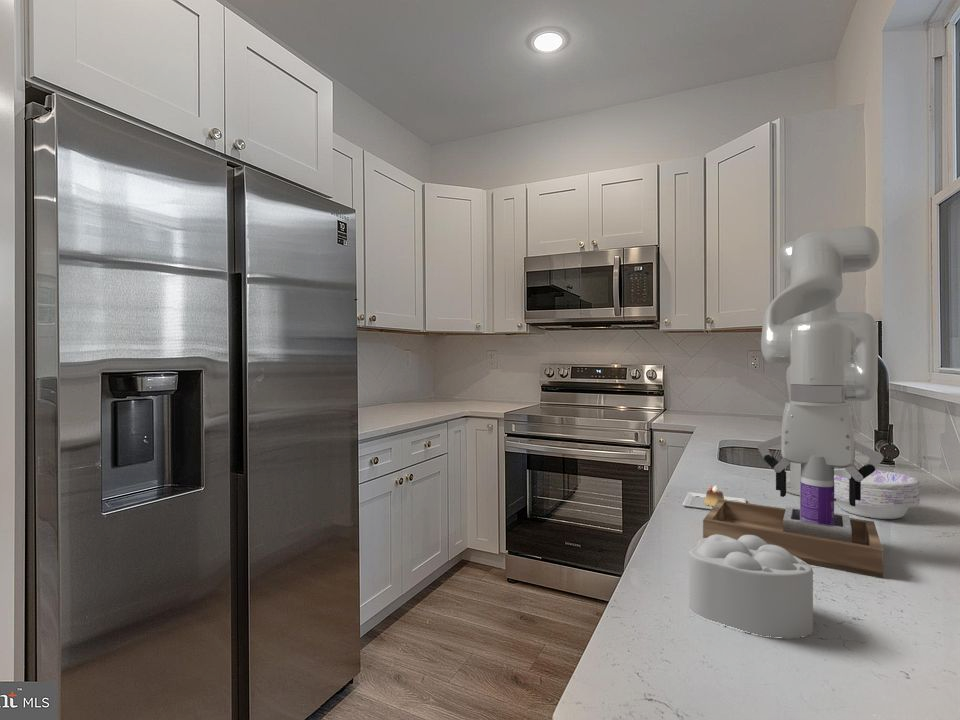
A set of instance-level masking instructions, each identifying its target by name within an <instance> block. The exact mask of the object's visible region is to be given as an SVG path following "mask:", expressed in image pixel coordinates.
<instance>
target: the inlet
mask: <svg viewBox="0 0 960 720" xmlns="http://www.w3.org/2000/svg"><path fill="white" fill-rule="evenodd" d="M785 509H786V510H785V514H784V518H783V531H784V532H790V533H796V534H802V535H808V536H814V537H820V538H826V539H832V540H838V541H844V542H850V543H852V529H851V523H850V518H851V517H850V515H848V514H842V513H835V512H834V526H833V525H827V524H820V523H814V522H807V521H801V520H800V507H793V506H785Z"/></svg>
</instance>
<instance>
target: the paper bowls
mask: <svg viewBox="0 0 960 720" xmlns="http://www.w3.org/2000/svg"><path fill="white" fill-rule="evenodd" d="M857 469H858V470H859V469H860V468H857ZM849 478H850V479H851V475H850V474H849V473H848V472H847V471H846V470H845V468H844V467H840V468H838V469H834V498H836V499H835V500H836V502H837V503H838V505H839V507H840V508H841V509H842V510H843V511H845V512H846V513H849V514H852V515H855V516H859V517H864V518H865V517H866V518H869V517H870V518H871V519H879V520H897V519H900V518H902V517H904V516H905V514H906V513H907V512H908V510H909V509H910V508H916V507H919V506H920V501H921V500H920V498H921V496H920V495H921V493H920V481H919V480H918V479H917V478H916V477H913V476H911V475H907V474H904V473H903V474H902V473H898V472H892V471H887V470H879V469H875V471H874V472H873V473H871V474H870V475H869V476H867V477H866V478H864V479H863V480H862V481H861V501H859V500H855V506H851V505H850V503H849Z"/></svg>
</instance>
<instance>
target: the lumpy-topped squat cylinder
mask: <svg viewBox="0 0 960 720" xmlns="http://www.w3.org/2000/svg"><path fill="white" fill-rule="evenodd" d="M813 580H814V570H813V568H812V566H811V565H810V564H807V563H806V562H804V561H802V560H801V559H799V558H797V557H795V556H793V555H791V554H790V553H789V552H788V551H787V550H785V549H784V548H782V547H780V546H777V545H768V544H767V543H766V542H765V541H764V540H763V539H761V538H759V537H757V536H755V535H743V536H741V537H740V538H739V539H738V540H736V539H733V538H730V537H728V536H724V535H718V534H716V535H711V536H709V537H708V538H703V537H702V538H700V539H699V540H698V541H697V545H696V546H694V547H692V548H690V550H689V552H688V609H689V608H690V609H691V610H692V611H693V612H694V613H696V614H698V615H700V616H702V617H704V618H706V619H709V620H712V621H715V622H719V623H721V624H725V625H727V626H731V627H734V628H737V629H740V630H743V631H747V632H750V633H754V634H758V635H762V636H769V637H770V636H771V637H782V638H796V639H799V638H798V637H802V636H806V637H808V636H807V635H809V634H811V633H812V632H814V581H813ZM812 634H813V633H812ZM812 634H811V635H812ZM809 636H810V635H809ZM802 638H803V637H802Z"/></svg>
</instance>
